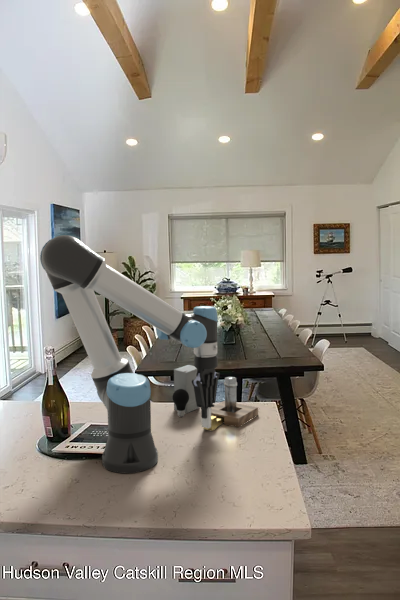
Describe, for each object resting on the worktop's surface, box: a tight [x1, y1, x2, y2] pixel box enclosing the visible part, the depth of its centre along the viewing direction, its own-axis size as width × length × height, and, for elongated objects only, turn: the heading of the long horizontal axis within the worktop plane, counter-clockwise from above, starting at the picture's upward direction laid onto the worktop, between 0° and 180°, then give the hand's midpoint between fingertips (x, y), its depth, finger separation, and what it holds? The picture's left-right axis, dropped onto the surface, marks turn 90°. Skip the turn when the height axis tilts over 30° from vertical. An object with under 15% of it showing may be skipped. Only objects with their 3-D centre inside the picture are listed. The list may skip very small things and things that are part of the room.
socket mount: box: [211, 400, 259, 428], centre depth 166 cm, size 14×14×3 cm
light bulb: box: [172, 389, 189, 418], centre depth 167 cm, size 6×6×10 cm
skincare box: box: [173, 364, 200, 414], centre depth 175 cm, size 8×7×16 cm
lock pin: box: [203, 416, 224, 432], centre depth 159 cm, size 12×3×4 cm, turn 146°
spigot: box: [223, 376, 238, 413], centre depth 166 cm, size 5×5×14 cm
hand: (206, 426), depth 153 cm, fingers closed
